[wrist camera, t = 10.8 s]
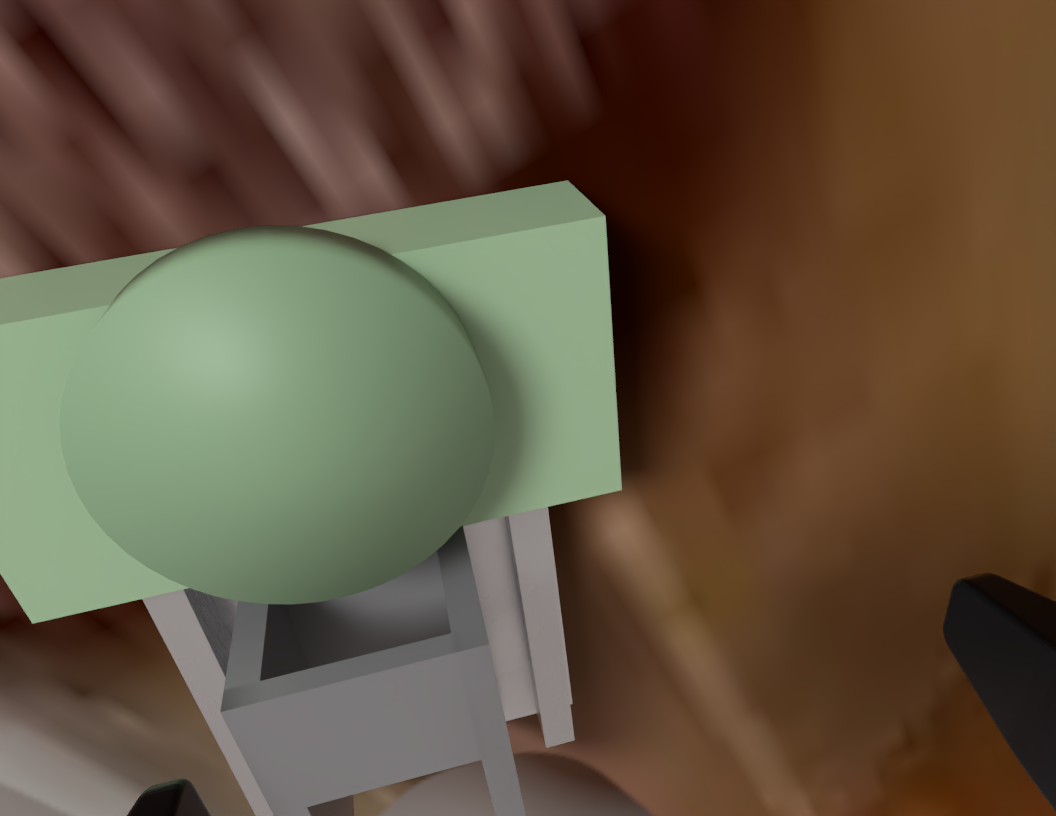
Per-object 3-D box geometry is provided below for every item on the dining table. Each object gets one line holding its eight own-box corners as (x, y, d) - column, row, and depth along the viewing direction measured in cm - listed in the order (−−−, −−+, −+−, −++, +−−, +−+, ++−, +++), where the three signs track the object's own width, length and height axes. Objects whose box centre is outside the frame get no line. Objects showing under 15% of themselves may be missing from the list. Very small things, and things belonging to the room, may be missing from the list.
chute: (459, 510, 22) (488, 643, 17) (503, 713, 26) (534, 857, 22) (244, 560, 21) (220, 712, 17) (328, 759, 26) (326, 917, 21)
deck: (563, 137, 17) (627, 184, 14) (610, 684, 27) (654, 800, 23) (-93, 244, 16) (-232, 334, 12) (210, 787, 26) (187, 931, 22)
